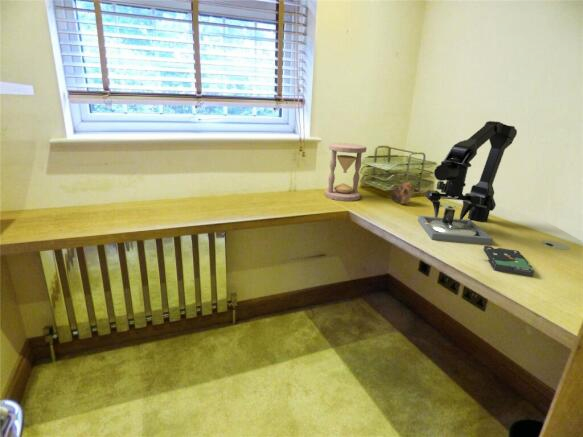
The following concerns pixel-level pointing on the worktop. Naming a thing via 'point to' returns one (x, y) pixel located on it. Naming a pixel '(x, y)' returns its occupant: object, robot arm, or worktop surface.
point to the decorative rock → (403, 193)
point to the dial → (451, 225)
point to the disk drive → (508, 261)
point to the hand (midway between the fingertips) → (448, 218)
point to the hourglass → (343, 190)
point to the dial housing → (478, 239)
